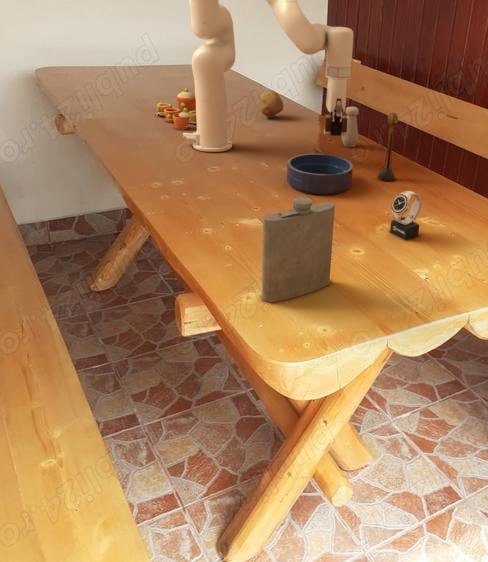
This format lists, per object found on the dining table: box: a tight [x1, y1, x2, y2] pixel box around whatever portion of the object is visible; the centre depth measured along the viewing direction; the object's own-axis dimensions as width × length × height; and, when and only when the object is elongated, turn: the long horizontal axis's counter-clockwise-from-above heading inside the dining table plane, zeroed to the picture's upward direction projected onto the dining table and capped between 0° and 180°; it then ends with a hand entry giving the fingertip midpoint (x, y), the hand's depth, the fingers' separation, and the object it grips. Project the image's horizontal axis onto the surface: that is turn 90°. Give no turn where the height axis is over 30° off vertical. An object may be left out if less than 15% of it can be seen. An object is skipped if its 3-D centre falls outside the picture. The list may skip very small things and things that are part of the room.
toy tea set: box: [154, 87, 197, 131], centre depth 231 cm, size 26×16×10 cm, turn 30°
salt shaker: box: [341, 106, 360, 148], centre depth 217 cm, size 6×6×13 cm
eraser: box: [323, 114, 348, 137], centre depth 197 cm, size 7×4×6 cm, turn 97°
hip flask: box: [261, 196, 336, 303], centre depth 126 cm, size 16×4×20 cm, turn 128°
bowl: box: [286, 153, 354, 196], centre depth 184 cm, size 19×19×6 cm
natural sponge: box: [259, 90, 285, 119], centre depth 242 cm, size 9×9×10 cm
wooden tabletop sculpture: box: [377, 112, 401, 183], centre depth 188 cm, size 6×5×20 cm
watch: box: [389, 190, 422, 241], centre depth 156 cm, size 6×8×11 cm
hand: (334, 132), depth 198 cm, fingers closed on eraser, 4 cm apart
